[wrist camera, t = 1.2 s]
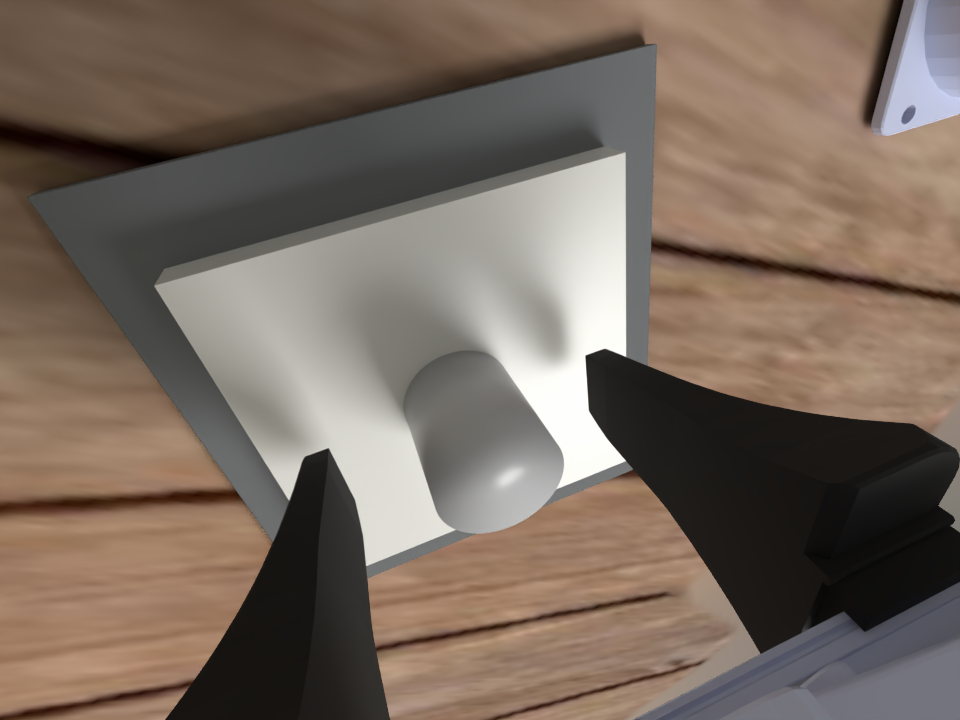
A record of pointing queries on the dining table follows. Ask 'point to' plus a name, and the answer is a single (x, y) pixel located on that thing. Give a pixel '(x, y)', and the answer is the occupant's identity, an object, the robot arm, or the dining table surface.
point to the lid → (426, 345)
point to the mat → (342, 194)
